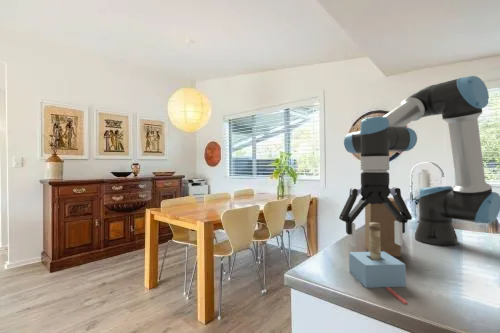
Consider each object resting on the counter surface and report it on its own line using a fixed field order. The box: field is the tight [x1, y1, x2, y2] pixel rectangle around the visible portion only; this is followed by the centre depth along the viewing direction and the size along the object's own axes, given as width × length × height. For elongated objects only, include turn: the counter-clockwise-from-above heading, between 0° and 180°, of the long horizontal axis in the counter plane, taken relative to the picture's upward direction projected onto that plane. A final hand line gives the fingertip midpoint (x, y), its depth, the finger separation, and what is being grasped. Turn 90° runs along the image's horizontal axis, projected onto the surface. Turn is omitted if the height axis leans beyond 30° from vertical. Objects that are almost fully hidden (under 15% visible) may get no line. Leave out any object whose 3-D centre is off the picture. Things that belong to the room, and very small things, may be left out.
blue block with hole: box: [348, 251, 407, 289], centre depth 79 cm, size 11×11×6 cm
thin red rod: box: [385, 287, 408, 305], centre depth 69 cm, size 1×8×1 cm, turn 2°
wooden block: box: [364, 197, 402, 258], centre depth 103 cm, size 10×10×20 cm
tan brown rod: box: [369, 222, 381, 260], centre depth 79 cm, size 3×3×16 cm
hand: (375, 244), depth 79 cm, fingers open, 13 cm apart
